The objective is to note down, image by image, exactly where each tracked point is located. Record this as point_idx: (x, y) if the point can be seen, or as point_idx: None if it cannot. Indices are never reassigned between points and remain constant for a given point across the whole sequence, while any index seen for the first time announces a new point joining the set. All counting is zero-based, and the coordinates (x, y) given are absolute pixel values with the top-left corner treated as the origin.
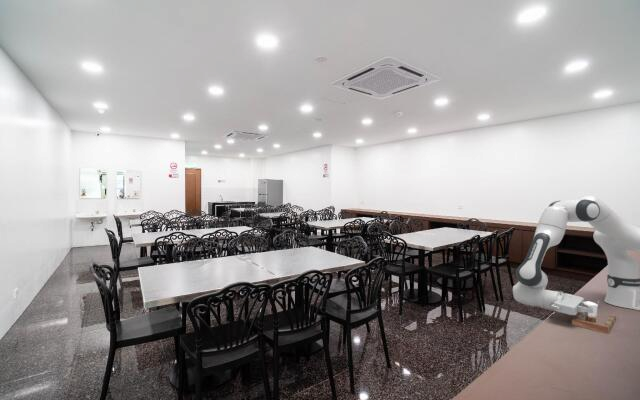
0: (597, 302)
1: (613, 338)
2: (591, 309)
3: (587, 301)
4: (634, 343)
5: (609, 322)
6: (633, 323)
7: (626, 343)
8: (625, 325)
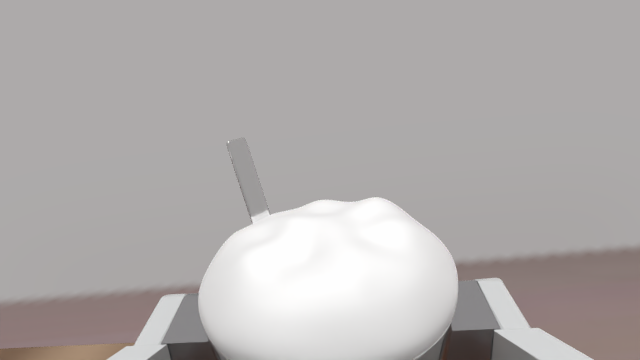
0: (246, 188)
1: (588, 329)
2: (500, 292)
3: (275, 273)
4: (527, 256)
5: None
6: (21, 303)
7: (591, 275)
8: (110, 325)
